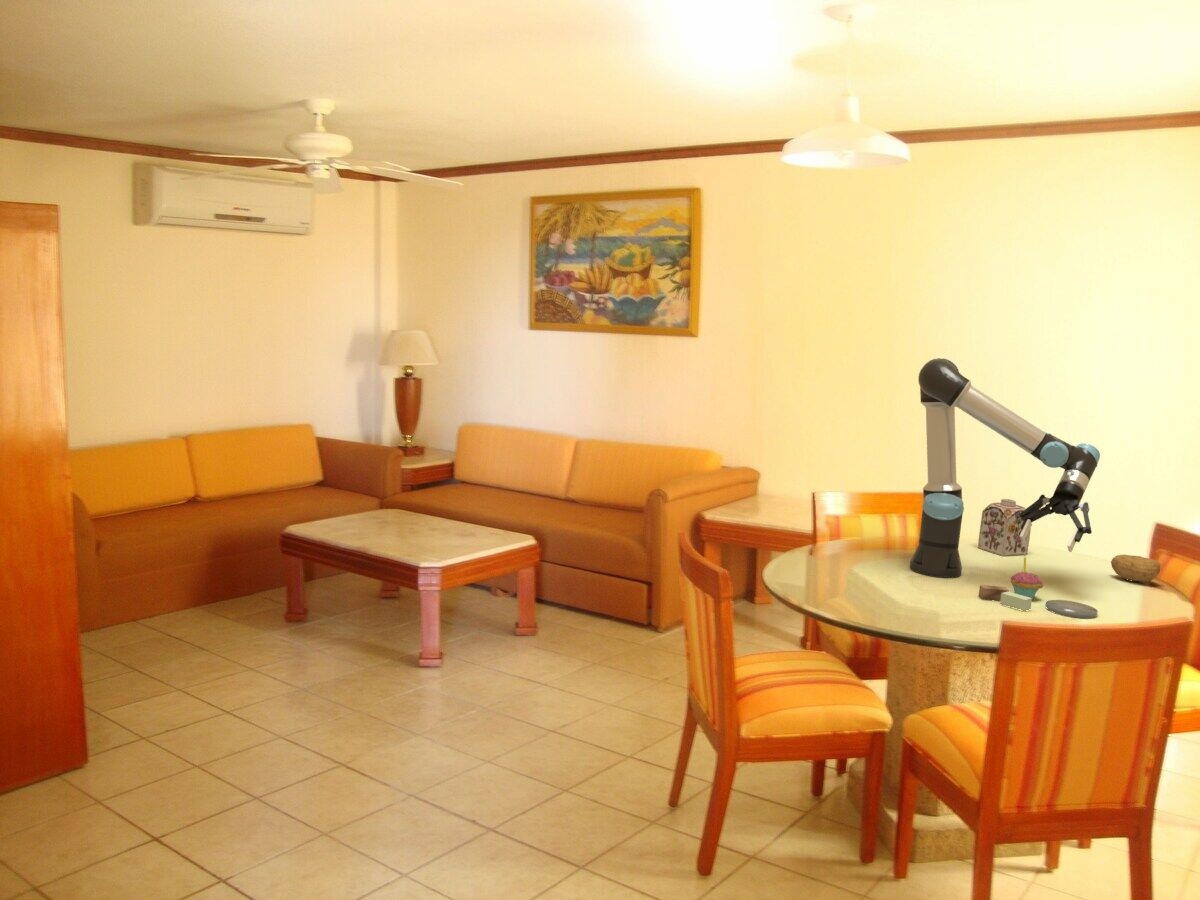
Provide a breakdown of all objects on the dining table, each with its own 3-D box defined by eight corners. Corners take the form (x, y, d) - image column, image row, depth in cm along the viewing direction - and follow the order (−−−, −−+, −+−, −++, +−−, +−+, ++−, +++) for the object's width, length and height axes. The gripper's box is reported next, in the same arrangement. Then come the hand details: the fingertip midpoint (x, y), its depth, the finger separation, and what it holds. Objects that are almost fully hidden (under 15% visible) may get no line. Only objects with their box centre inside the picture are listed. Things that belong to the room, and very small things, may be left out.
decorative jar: (976, 548, 351) (982, 496, 348) (1001, 546, 356) (1007, 495, 353) (1003, 556, 340) (1010, 504, 338) (1028, 555, 345) (1035, 503, 343)
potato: (1114, 573, 327) (1118, 549, 326) (1162, 584, 318) (1166, 559, 316) (1103, 578, 320) (1107, 553, 319) (1152, 589, 311) (1156, 563, 309)
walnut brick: (981, 600, 286) (983, 588, 285) (978, 596, 289) (980, 584, 289) (1007, 602, 285) (1009, 590, 285) (1003, 599, 288) (1005, 587, 288)
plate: (1044, 612, 277) (1045, 608, 276) (1045, 601, 288) (1046, 597, 288) (1097, 621, 271) (1098, 617, 271) (1096, 609, 283) (1096, 605, 283)
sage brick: (999, 605, 282) (1001, 593, 281) (1006, 603, 284) (1008, 591, 283) (1023, 612, 276) (1025, 599, 276) (1030, 610, 279) (1032, 598, 278)
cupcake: (1002, 593, 294) (1007, 552, 292) (1025, 592, 297) (1030, 552, 295) (1024, 602, 286) (1029, 560, 284) (1047, 601, 289) (1053, 559, 287)
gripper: (1026, 473, 311) (1000, 527, 302) (1113, 487, 294) (1088, 545, 285) (1031, 489, 316) (1005, 542, 307) (1117, 504, 299) (1092, 561, 290)
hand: (1045, 544), depth 296 cm, fingers open, 13 cm apart
